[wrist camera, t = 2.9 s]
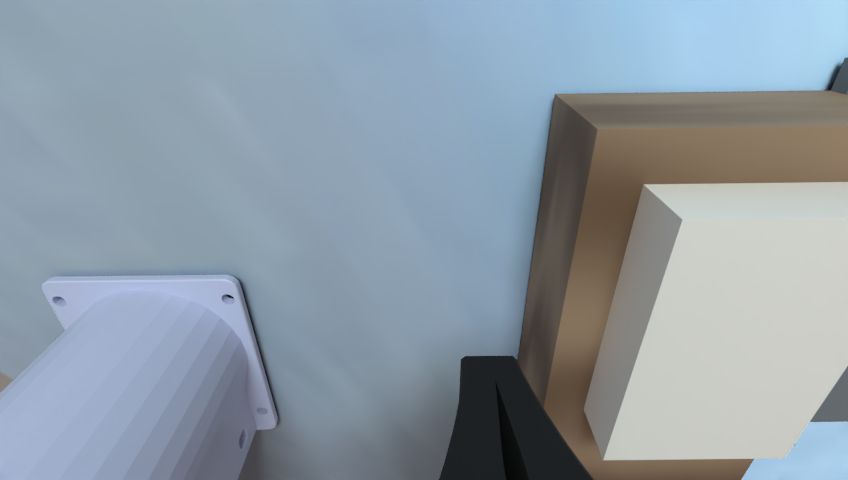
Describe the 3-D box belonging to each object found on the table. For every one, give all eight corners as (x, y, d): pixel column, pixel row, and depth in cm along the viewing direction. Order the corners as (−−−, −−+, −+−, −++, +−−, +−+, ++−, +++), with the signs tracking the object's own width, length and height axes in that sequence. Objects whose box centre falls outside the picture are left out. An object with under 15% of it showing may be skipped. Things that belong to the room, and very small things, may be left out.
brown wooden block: (669, 448, 24) (711, 527, 20) (505, 450, 24) (519, 529, 20) (830, 90, 14) (961, 124, 11) (554, 94, 14) (597, 128, 11)
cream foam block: (745, 407, 16) (784, 458, 14) (583, 409, 16) (603, 460, 14) (870, 181, 11) (949, 216, 10) (643, 184, 11) (682, 219, 10)
